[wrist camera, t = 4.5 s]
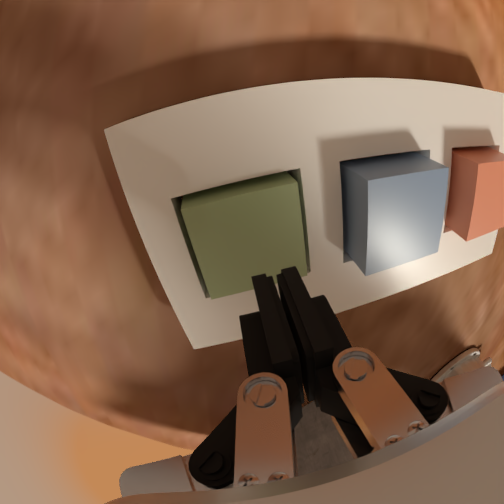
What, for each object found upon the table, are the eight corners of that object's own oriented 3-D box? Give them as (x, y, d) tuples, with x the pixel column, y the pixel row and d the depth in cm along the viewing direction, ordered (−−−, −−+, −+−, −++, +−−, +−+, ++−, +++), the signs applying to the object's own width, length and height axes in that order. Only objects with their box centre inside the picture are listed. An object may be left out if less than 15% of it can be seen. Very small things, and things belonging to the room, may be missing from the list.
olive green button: (279, 164, 15) (297, 182, 12) (291, 246, 18) (307, 275, 15) (184, 187, 15) (180, 210, 12) (208, 266, 17) (211, 299, 15)
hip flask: (335, 387, 30) (391, 535, 13) (346, 396, 32) (399, 527, 15) (230, 436, 33) (254, 565, 16) (248, 441, 35) (274, 560, 18)
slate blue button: (413, 151, 14) (448, 167, 11) (409, 227, 17) (437, 252, 14) (337, 162, 14) (367, 180, 11) (341, 246, 17) (365, 276, 14)
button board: (484, 88, 14) (511, 95, 11) (471, 237, 21) (491, 253, 19) (121, 122, 13) (103, 129, 10) (193, 318, 20) (193, 349, 18)
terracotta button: (486, 146, 14) (516, 159, 12) (479, 208, 17) (505, 226, 15) (444, 148, 14) (478, 163, 12) (438, 219, 17) (466, 241, 14)
